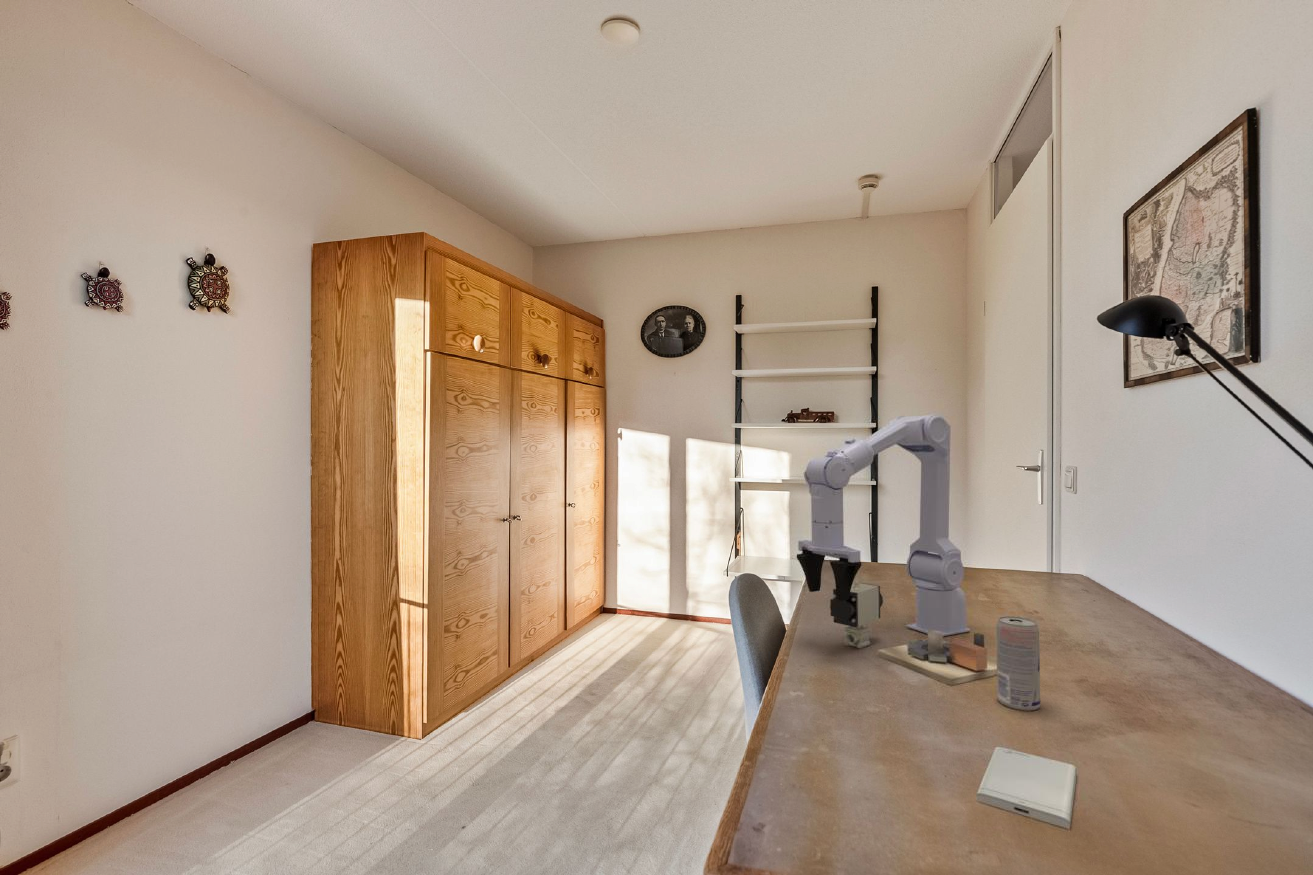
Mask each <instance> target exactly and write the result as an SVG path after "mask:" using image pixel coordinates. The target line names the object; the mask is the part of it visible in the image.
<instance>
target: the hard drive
mask: <svg viewBox="0 0 1313 875" xmlns="http://www.w3.org/2000/svg"><path fill="white" fill-rule="evenodd" d="M1077 770H1078V769H1077V767H1076V766H1075V765H1073V764H1070V763H1066V762H1063V761H1059V760H1055V759H1054V760H1053V759H1050V758H1046V757H1042V756H1038V755H1036V754H1035V755H1034V754H1030V753H1025V752H1022V751H1018V750H1014V749H1010V748H1006V747H1001V746H996V747H995V748H994V750H993V753H992V756H991V759H990V761H989V763H988V765H987V768H986V770H985V773H984V774H983V777H982V780H981V781H980V782H981V783H980V785H979V788H978V790H977V792H976V802H977V803H981V804H985V805H989V806H991V807H995V808H998V809H1002V810H1005V811H1007V812H1010V813H1011V812H1012V813H1014V814H1017V815H1020V816H1025V817H1028V818H1031V819H1033V820H1038V821H1041V822H1043V823H1044V822H1045V823H1047V824H1051V825H1054V826H1058V827H1061V828H1064V829H1068V830H1070V828H1071V822H1072V821H1071V820H1072V813H1073V807H1074V799H1075V791H1076V784H1077V776H1078V775H1077V773H1078V772H1077Z"/></svg>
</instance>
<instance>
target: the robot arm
mask: <svg viewBox="0 0 1313 875" xmlns="http://www.w3.org/2000/svg"><path fill="white" fill-rule="evenodd" d="M895 445H896V446H898V447H900V448H902V449H903V450H905V451H906V452H908V453H910V454H912V455H914V456H915V457H916V459H918V460H919V461H920V498H919V499H920V502H919V503H920V505H919V506H920V508H919V538H917V539H916V540H915V541H914V542H912V543H911V544H910V545H909V555H908V557H907V560H906V565H905V566H906V573H907V575H908V577H909V578H911V579H912V584H913V585H915V620H916V621H915V622H914V623H909V624H908V623H907V624H906V628H908V629H912V630H915V631H918V632H921V633H925V634H926V635H928V631H929V630H936V631H940V632H942V633H943V637H945V636H946V637H947V636H951V635H956V634H963V633H967V632H971V628H970V627H967V598H966V595H965V593H964V591H963V589H962V588H961V587H959V586H960V584H961V583H962V581H963V579H964V576H965V575H964V574H965V571H964V570H965V569H964V565H963V560H962V557H961V556H962V551H961V550H960V549H959V548H958V547H957V545H955V544H954V543H953V542H952V541H951V540H950V539H949V537H950V536H949V534H950V533H949V531H950V528H949V527H950V482H951V481H950V478H951V477H950V476H951V475H950V473H951V471H950V470H951V425H950V424H949V423H948V421H947V420H946V419H945V418H944V417H943V415H941V414H938V413H932V414H928V415H927V414H926V415H912V416H911V415H909V416H908V415H907V416H905V415H901V416H897V417H896V418H895V419H891V420H889V421H888V423H887V424H886V425H884V426H883V427H882V428H879V429H878V430H877V431H876V432H874V433H873V434H871V435H870V436H868V437H867V438H865V439H861V438H851V437H850V438H847V439H846V440H844V444H843V445H842V446H840V447H838V448H836V449H830V450H828V451H827V454H826V455H825V456H816V457H814V458H812V459H810V461H809V462H808V464H807V465H806V468H805V471H803V477H804V480H805V482H806V484H807V485H808V489H809V490H808V493H809V494H810V496H811V497H810V501H811V503H810V504H811V508H810V510H811V515H810V516H811V540H808V539H805V540H804V539H803V540H798V541H797V543H798V544H797V546H798V551H799V552H801V553H797V554H796V559H797V561H798V562H799V565H800V566H801V568H802V571H803V574H804V577H805V581H806V584H807V588H808V591H809V592H810V593H815V592H820V591H821V587H822V586H821V584H822V571H823V564H824V562H825V558H826V557H830V558H834V559H838V560H830V561H829V565H830V567H831V570H832V572H833V576H834V582H835V589H836V596H837V600H839V601H843V600H848V599H849V595H850V591H851V587H852V584H853V583H854V582H855V581H854V580H855V578H856V575H857V574H858V572H859V571H860V569H861V567H862V562H861V550H857V549H855V548H852V547H850V546H847V545H845V544H844V543H845V542H844V541H845V540H844V537H845V536H844V532H845V531H844V488H845V487H847V485H848V484H849V482H850V479H851V477H852V476H854V475H855V474H857V473H859V472H861V471H862V470H863V469H866V468H867V467H869V466H870V465H872V464H873V461H874V456H876V455H878V454H880V453H882V452H883V451H885V450H887V449H889V448H891V447H894V446H895Z"/></svg>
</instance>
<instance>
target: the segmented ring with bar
mask: <svg viewBox="0 0 1313 875" xmlns="http://www.w3.org/2000/svg"><path fill="white" fill-rule="evenodd" d="M924 641H925V642H924ZM906 645H907V649H908V653H910V654H911V655H913V656H916V657H919V658H921V659H927V658H928V660H929V661H939V662H947V661H950V662H954V663H956V664H959V665H962V666H965V667H967V668H970V669H973V670H976V671H978V670H982V669H987V656H988V651H987V648H986V647H984V648H983V647H980V646H977V645H974V643H971V642H967V641H964V640H961V639H957V640H953V641H949V642H948V643H943V651H945V652H944V653H938V652H930V651H927V650H924V649H928V639H925V640H922V639H919V640H914V641H913V640H912V641H909V642H908V643H906Z"/></svg>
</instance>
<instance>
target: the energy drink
mask: <svg viewBox="0 0 1313 875" xmlns="http://www.w3.org/2000/svg"><path fill="white" fill-rule="evenodd" d="M995 627H996V658H997V675H996V676H997V678H996V681H997V682H996V683H997V699H998V701H999V702H1000V703H1001V704H1002V705H1003V706H1005V707H1008V708H1009V709H1013V710H1014V709H1015V710H1019V711H1023V712H1024V711H1025V712H1026V711H1028V712H1031V711H1037V710H1038V709H1039V708H1040V707H1041V668H1040V666H1041V664H1040V661H1041V660H1040V657H1041V656H1040V628H1039V626H1038V622H1037V621H1036V620H1033V619H1031V618H1026V617H1021V616H1015V615H1014V616H1013V615H1006V616H1003V615H1002V616H999V617H998V618H997V622H996V626H995Z"/></svg>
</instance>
